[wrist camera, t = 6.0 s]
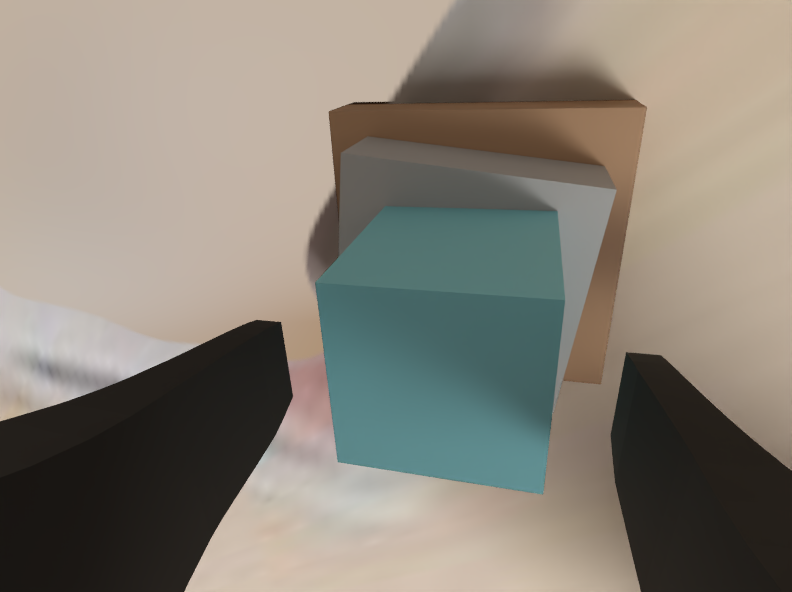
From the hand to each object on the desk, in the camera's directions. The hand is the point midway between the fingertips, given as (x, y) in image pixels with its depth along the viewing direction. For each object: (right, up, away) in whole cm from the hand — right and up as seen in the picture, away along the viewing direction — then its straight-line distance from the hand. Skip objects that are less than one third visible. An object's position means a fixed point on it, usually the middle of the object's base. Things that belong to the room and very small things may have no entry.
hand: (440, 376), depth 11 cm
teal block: (+1, +2, +4) cm, 4 cm away
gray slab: (+1, +3, +6) cm, 7 cm away
